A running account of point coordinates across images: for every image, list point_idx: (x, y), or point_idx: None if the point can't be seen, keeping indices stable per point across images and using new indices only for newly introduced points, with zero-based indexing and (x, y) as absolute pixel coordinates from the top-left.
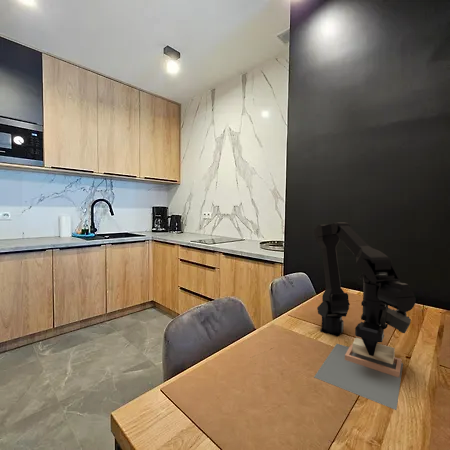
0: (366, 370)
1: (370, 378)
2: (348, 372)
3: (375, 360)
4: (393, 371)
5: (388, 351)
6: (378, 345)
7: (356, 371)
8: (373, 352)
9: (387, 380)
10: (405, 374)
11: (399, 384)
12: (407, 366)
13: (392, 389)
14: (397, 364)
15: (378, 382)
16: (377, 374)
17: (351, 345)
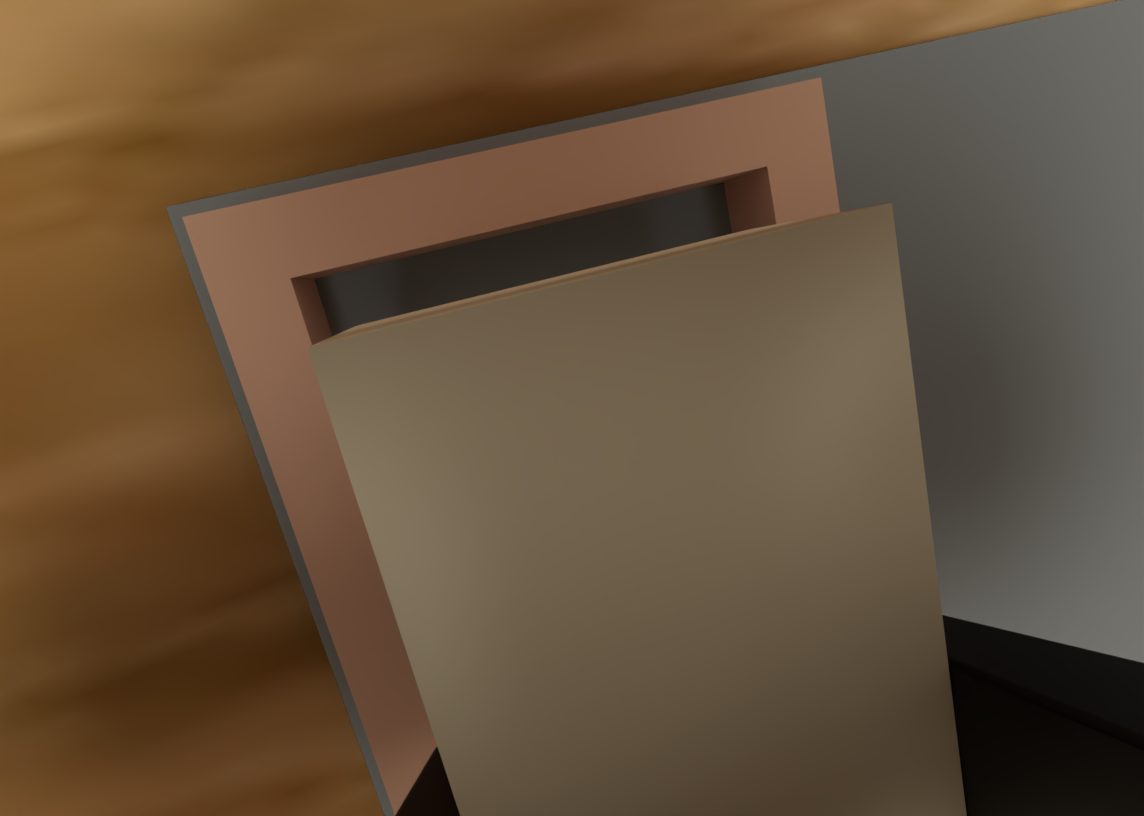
0: (932, 522)
1: (1086, 397)
2: (1138, 636)
3: None
4: (821, 184)
5: (753, 391)
6: (590, 745)
7: (1054, 590)
8: (977, 637)
9: (977, 213)
10: (515, 76)
11: (955, 45)
12: (165, 129)
13: (1139, 86)
14: (530, 202)
15: (1110, 284)
16: (929, 375)
17: None
